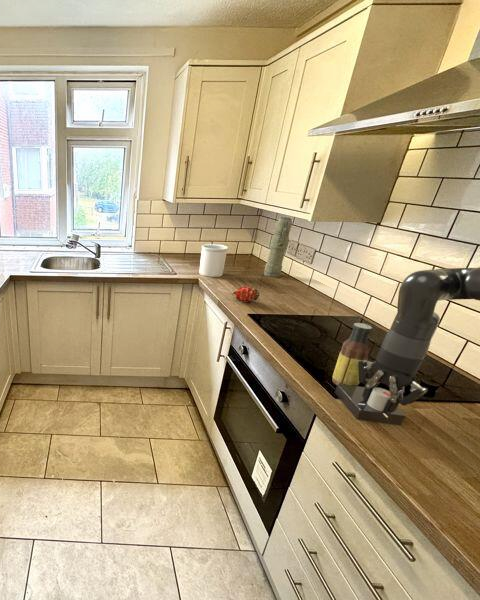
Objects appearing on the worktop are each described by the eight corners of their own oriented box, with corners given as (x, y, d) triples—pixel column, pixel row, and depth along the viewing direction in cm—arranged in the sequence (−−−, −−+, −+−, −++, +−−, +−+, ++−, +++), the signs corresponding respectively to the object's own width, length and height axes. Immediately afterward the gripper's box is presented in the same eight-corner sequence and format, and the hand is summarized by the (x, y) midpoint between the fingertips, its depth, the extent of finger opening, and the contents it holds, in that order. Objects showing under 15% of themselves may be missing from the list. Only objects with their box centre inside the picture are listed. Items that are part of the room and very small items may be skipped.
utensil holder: (193, 273, 198) (197, 246, 192) (204, 269, 208) (209, 242, 201) (216, 279, 188) (221, 250, 182) (227, 274, 198) (232, 246, 191)
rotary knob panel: (373, 397, 90) (377, 388, 89) (405, 429, 79) (410, 420, 78) (334, 392, 92) (337, 383, 91) (360, 423, 81) (364, 414, 80)
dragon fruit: (259, 306, 154) (232, 306, 159) (258, 292, 159) (231, 292, 163) (261, 297, 148) (233, 297, 152) (260, 282, 152) (232, 282, 156)
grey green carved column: (266, 277, 191) (280, 219, 178) (261, 272, 202) (274, 216, 189) (282, 278, 189) (298, 219, 176) (276, 273, 200) (290, 216, 187)
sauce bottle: (359, 386, 95) (384, 327, 87) (352, 393, 92) (376, 333, 84) (334, 375, 100) (355, 319, 92) (326, 382, 97) (347, 324, 89)
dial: (363, 402, 84) (369, 388, 82) (373, 399, 85) (379, 385, 83) (380, 413, 80) (387, 397, 78) (390, 409, 81) (398, 394, 79)
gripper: (359, 338, 81) (338, 392, 88) (431, 368, 68) (400, 428, 75) (379, 333, 83) (357, 386, 90) (452, 362, 71) (420, 421, 77)
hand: (377, 405), depth 82 cm, fingers closed on dial, 4 cm apart
